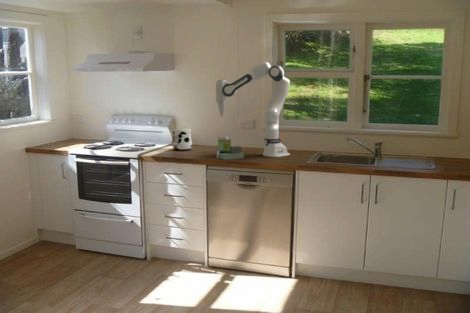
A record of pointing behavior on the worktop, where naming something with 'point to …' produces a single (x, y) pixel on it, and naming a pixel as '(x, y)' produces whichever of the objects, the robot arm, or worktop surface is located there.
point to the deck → (231, 153)
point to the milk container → (182, 139)
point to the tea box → (224, 145)
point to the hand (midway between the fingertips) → (221, 116)
